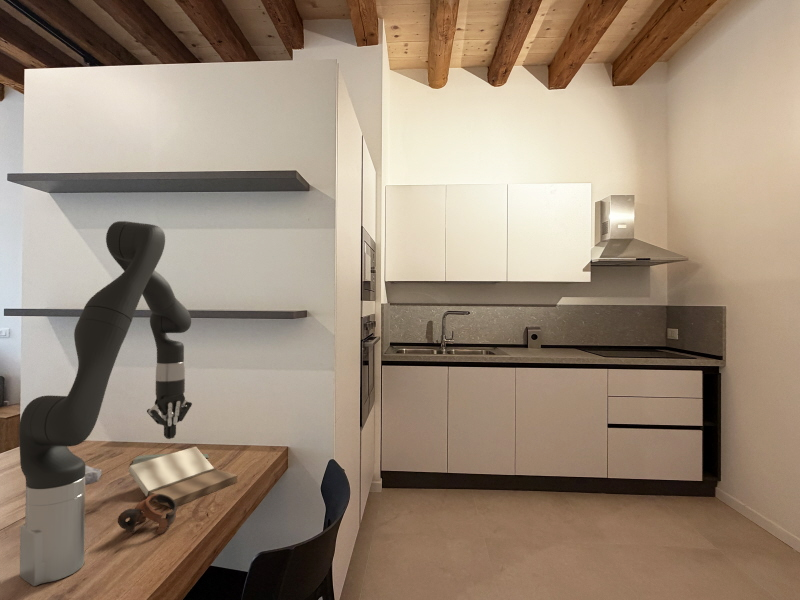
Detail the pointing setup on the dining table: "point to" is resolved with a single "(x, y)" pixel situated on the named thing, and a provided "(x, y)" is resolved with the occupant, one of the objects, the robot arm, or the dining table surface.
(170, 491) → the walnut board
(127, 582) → the dining table surface
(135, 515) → the brown ringed bracket
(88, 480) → the stone block
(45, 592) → the dining table surface
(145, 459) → the stone slab
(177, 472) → the ash plank
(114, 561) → the dining table surface
